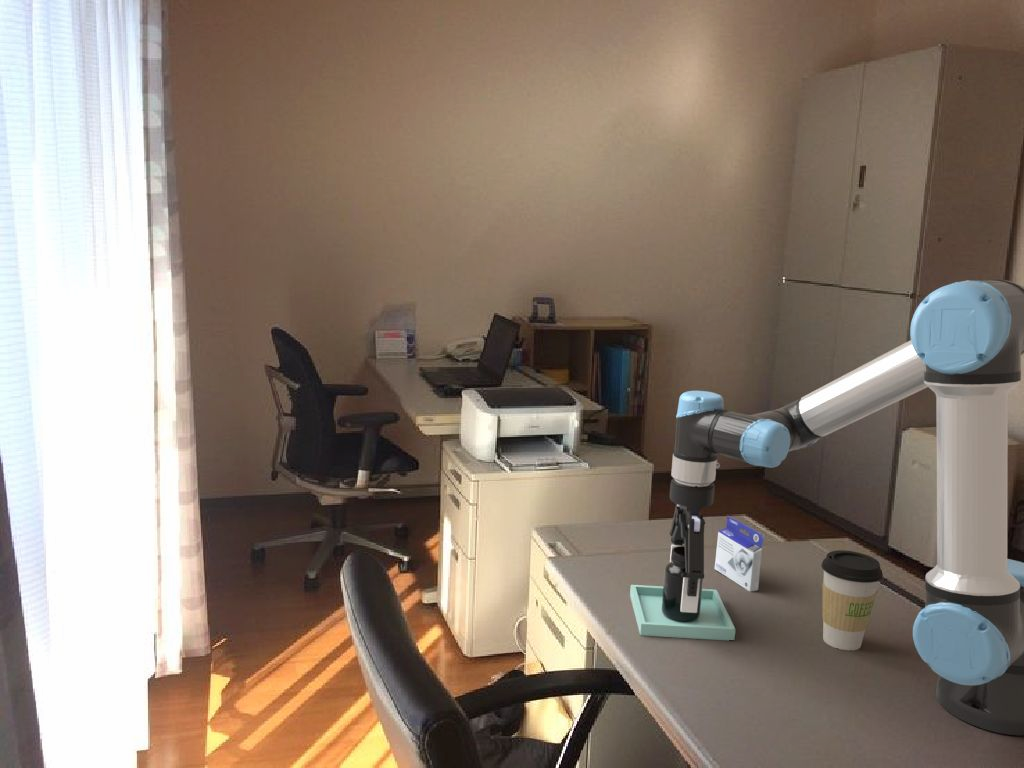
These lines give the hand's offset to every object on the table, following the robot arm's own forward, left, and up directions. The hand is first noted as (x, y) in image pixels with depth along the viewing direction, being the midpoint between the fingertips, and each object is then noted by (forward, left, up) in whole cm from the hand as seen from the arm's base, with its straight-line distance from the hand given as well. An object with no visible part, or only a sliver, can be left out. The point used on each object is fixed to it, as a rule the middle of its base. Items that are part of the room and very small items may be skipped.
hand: (681, 594), depth 162 cm
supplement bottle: (0, 0, -4) cm, 4 cm away
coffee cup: (-6, -27, -4) cm, 28 cm away
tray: (0, 0, -4) cm, 4 cm away
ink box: (+18, -14, -4) cm, 23 cm away
